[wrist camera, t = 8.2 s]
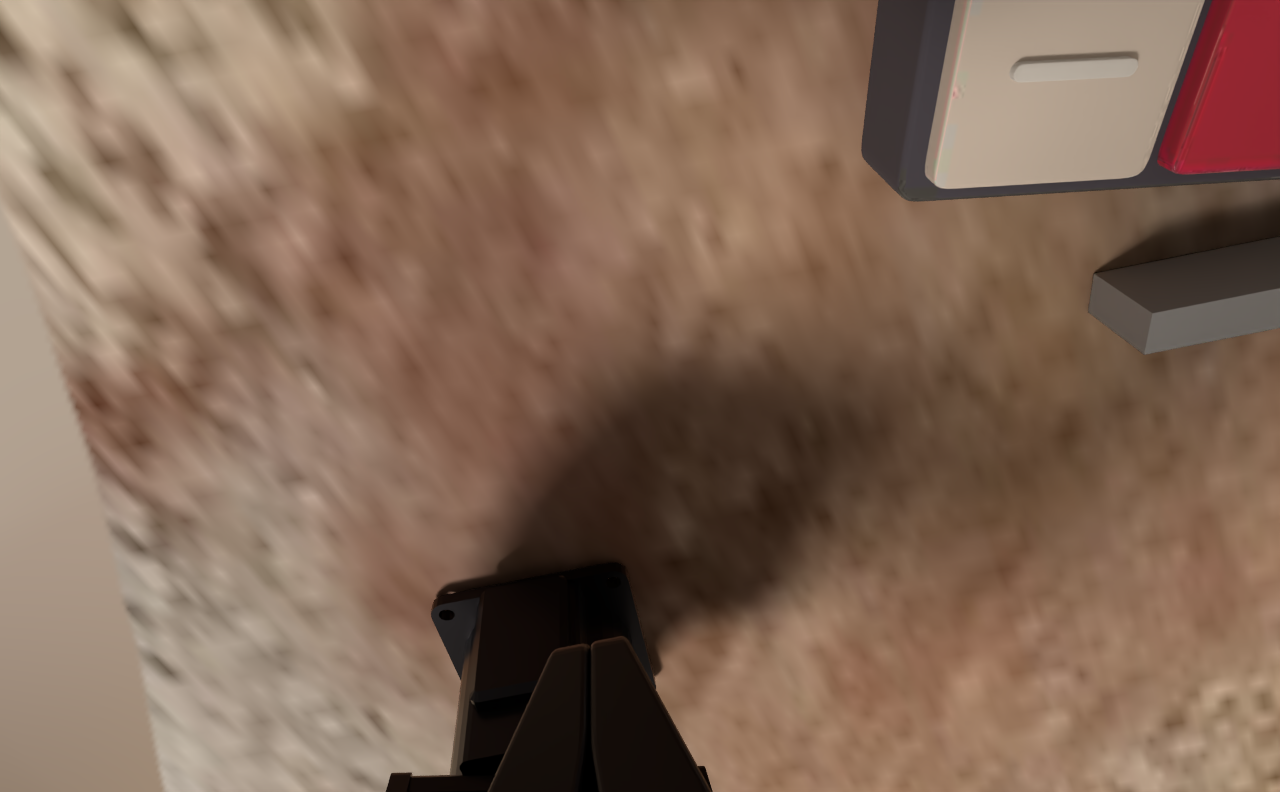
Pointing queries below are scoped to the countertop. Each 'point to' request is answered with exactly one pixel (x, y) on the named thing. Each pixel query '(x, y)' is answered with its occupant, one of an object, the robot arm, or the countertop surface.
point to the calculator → (1071, 95)
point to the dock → (1192, 297)
